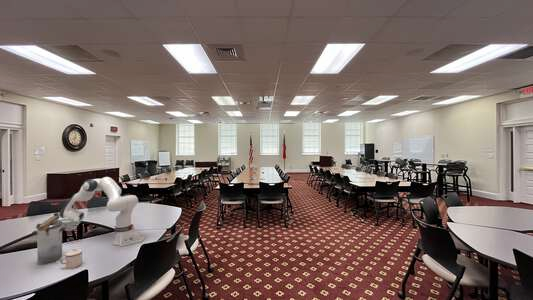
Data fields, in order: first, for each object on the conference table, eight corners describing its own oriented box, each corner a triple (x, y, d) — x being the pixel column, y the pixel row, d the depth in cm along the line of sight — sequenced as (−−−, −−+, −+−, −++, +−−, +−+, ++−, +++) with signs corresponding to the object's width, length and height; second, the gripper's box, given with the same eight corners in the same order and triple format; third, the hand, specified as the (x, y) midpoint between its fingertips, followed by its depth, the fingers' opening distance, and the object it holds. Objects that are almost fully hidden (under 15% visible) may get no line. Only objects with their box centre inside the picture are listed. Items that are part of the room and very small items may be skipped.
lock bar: (59, 218, 179) (59, 212, 179) (44, 230, 154) (44, 223, 154) (54, 218, 178) (54, 212, 178) (38, 230, 153) (38, 224, 153)
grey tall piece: (68, 253, 177) (68, 216, 176) (62, 261, 164) (62, 222, 163) (38, 258, 169) (37, 220, 168) (29, 267, 156) (28, 226, 155)
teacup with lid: (83, 260, 166) (83, 244, 165) (81, 266, 158) (81, 249, 158) (61, 265, 159) (60, 248, 159) (58, 271, 151) (58, 254, 151)
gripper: (51, 221, 197) (46, 217, 187) (81, 218, 207) (77, 214, 196) (50, 228, 195) (44, 225, 184) (80, 225, 204) (77, 221, 193)
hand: (62, 219), depth 190 cm, fingers open, 8 cm apart
